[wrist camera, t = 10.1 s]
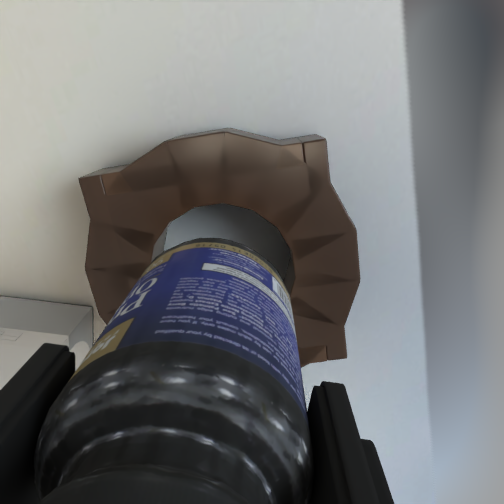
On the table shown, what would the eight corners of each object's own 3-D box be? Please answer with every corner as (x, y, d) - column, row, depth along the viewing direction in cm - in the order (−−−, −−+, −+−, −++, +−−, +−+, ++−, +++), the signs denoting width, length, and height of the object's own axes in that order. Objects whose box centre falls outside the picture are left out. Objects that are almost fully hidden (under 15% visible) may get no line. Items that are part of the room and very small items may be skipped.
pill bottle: (151, 217, 15) (-88, 454, 5) (310, 255, 16) (408, 553, 5) (127, 355, 17) (-76, 735, 7) (269, 387, 18) (280, 792, 7)
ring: (335, 110, 20) (347, 110, 17) (355, 341, 24) (367, 372, 21) (78, 152, 21) (49, 159, 18) (140, 367, 25) (125, 401, 22)
